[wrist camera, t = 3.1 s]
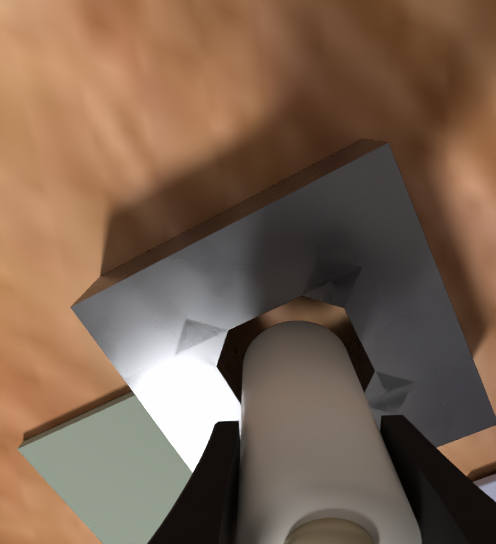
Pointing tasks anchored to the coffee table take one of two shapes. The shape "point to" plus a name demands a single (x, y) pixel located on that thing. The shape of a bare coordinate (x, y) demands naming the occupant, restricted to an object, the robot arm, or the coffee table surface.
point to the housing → (286, 287)
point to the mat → (112, 469)
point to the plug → (313, 448)
